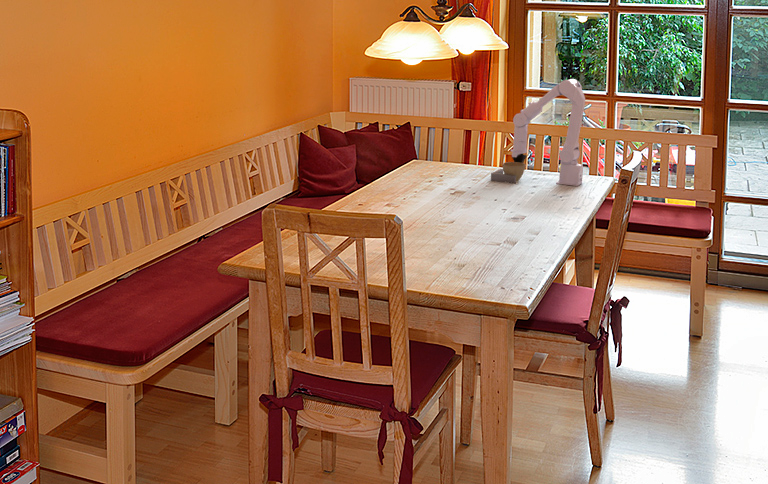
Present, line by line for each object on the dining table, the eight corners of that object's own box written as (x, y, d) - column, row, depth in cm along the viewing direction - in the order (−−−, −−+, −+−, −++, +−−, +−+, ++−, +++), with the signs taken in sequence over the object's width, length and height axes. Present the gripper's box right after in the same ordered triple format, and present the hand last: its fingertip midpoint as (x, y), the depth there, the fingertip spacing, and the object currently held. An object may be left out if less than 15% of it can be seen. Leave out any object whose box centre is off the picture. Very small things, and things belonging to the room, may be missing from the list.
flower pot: (497, 178, 364) (498, 162, 362) (516, 177, 368) (517, 161, 366) (510, 183, 356) (511, 166, 354) (529, 181, 360) (530, 165, 358)
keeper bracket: (523, 179, 365) (524, 171, 364) (514, 183, 354) (515, 175, 353) (500, 176, 370) (500, 168, 369) (490, 181, 359) (491, 173, 358)
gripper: (517, 137, 371) (515, 167, 375) (505, 141, 359) (504, 172, 362) (532, 139, 368) (530, 169, 372) (521, 143, 356) (519, 174, 359)
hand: (518, 171), depth 367 cm, fingers closed
